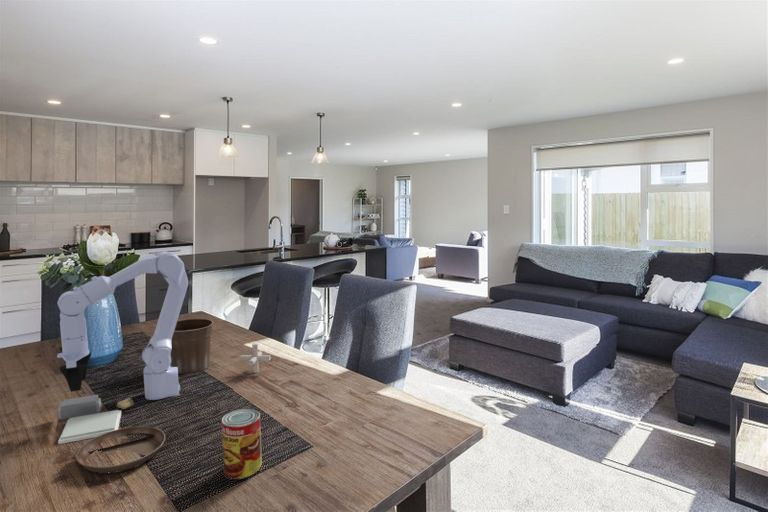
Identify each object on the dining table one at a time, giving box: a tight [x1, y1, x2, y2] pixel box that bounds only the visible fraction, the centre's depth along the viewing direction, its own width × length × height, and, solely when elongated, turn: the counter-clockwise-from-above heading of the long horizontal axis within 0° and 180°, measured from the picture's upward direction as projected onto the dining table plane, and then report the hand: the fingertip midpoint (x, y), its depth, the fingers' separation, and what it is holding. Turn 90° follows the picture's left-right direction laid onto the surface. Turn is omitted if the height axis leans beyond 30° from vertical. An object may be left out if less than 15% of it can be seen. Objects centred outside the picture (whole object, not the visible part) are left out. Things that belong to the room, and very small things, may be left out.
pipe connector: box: [239, 342, 272, 374], centre depth 154 cm, size 10×10×10 cm
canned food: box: [221, 408, 263, 478], centre depth 97 cm, size 8×8×12 cm
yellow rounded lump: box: [116, 397, 135, 410], centre depth 126 cm, size 3×3×3 cm
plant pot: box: [170, 318, 214, 375], centre depth 158 cm, size 16×16×16 cm
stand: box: [57, 409, 122, 445], centre depth 114 cm, size 12×12×2 cm
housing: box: [57, 394, 102, 420], centre depth 122 cm, size 9×4×5 cm, turn 116°
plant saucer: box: [75, 425, 166, 474], centre depth 103 cm, size 18×18×3 cm
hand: (78, 385), depth 121 cm, fingers open, 7 cm apart
